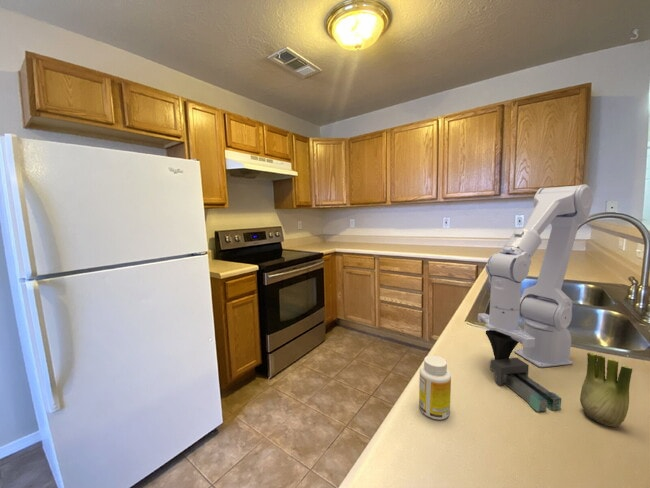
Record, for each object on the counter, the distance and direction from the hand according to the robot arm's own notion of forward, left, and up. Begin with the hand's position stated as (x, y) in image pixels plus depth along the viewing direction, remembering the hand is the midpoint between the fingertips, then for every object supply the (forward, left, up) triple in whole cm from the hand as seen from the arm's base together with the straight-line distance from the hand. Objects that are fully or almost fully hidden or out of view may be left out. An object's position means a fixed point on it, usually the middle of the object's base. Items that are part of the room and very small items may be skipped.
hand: (501, 362), depth 64 cm
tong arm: (+2, +6, -3) cm, 7 cm away
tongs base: (-1, +5, -3) cm, 6 cm away
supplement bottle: (+21, +8, -3) cm, 23 cm away
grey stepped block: (0, +3, -3) cm, 5 cm away
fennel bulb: (-7, +15, -3) cm, 17 cm away
